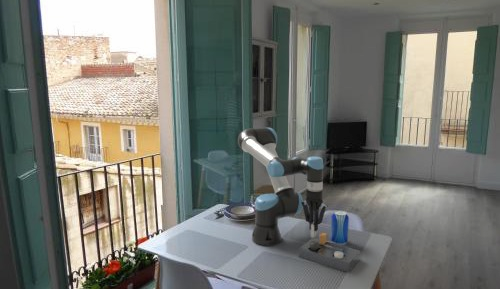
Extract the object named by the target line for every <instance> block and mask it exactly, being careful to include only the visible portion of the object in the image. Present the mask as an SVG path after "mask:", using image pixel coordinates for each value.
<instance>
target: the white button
mask: <svg viewBox="0 0 500 289" xmlns="http://www.w3.org/2000/svg"><path fill="white" fill-rule="evenodd" d="M343 256H344V253H343V252H341V251H336V252H334V257H335V258H339V259H343Z"/></svg>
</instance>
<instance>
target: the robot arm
mask: <svg viewBox="0 0 500 289" xmlns="http://www.w3.org/2000/svg"><path fill="white" fill-rule="evenodd" d="M276 132H277V131H275V129H273V128H271V127H268V126H267V127H254V128H253V127H252V128H246V129H244V130H242V131H241V132H240V133H239V135H238V137H237V145H238V146H239V148H240V149H241V150H242V151H244V152H245V153H248V154H250V155H251V156H252V157H253V158H254V159H256V160H257V161H258V162H260V163H261V164H262V165H263V166H264V167H265V168H266V172H267V173H268V177H269V179H270V182H271V184H272V188H273V190H274V193H264V194H261V195H259V196H258V197H256V199H255V204H254V208H255V210H254V212H255V215H254V216H255V226H254V228H253V232H252V233H251V234H252V235H251V240H252V242H253V243H254V244H256V245H259V246H275V245H277V244H279V243H280V242H281V241H282V235H281V231H280V228H279V219H282V218H286V217H287V218H288V217H294V216H296V215H298V214H301V212H302V211H303V213H304V218H305V222H308V224H309V230H310V238H315V237H316V236H317V231H318V230H319V228H318V227H319V225H321V223H323V220H324V216H325V212H326V209H327V208H328V205H327V204H325V203H324V201H323V192H324V191H323V189H324V188H323V187H324V186H323V185H324V183H323V182H324V159H323V158H322V157H320V156H309V157H307V158H304V157H301V156H294V157H292V158H290V159H281V158H280V157H279V156H278V153H277V151H276V148H277V144H278V135H277V133H276ZM299 174H300V175H305V176H306V195H305V196H306V198H305V200H304V199H303V196H302V194H301V193H299V192H298V191H295V188H294V187H292V186H291V185H290V183H289V181H288V178H287V176H292V175H293V176H294V175H299ZM320 208H321V209H320Z"/></svg>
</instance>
